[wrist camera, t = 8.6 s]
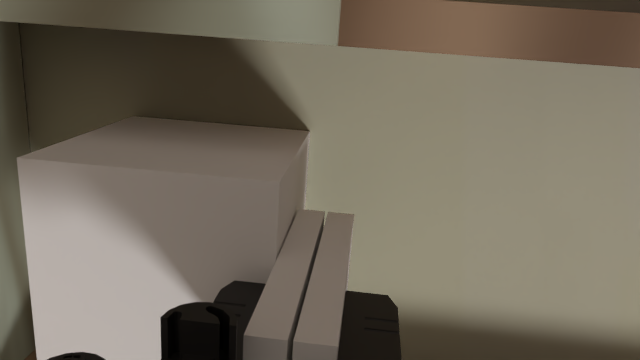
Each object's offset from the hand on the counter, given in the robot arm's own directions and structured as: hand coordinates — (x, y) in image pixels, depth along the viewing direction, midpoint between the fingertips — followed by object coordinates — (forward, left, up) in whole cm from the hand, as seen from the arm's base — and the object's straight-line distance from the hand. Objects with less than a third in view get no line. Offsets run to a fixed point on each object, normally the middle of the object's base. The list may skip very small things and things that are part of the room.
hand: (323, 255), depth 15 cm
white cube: (+4, 0, -3) cm, 5 cm away
